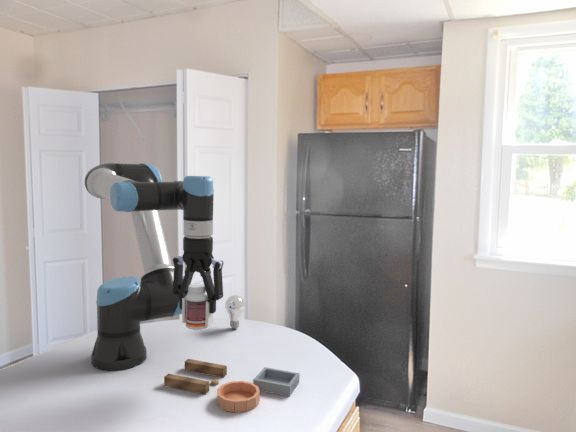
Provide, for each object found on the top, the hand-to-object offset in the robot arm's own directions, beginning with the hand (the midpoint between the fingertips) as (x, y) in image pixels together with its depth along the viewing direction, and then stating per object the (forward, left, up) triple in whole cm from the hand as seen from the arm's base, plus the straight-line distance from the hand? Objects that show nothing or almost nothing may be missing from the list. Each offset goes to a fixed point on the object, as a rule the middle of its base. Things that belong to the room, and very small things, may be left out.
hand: (197, 322), depth 123 cm
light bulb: (-7, +39, -16) cm, 43 cm away
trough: (+21, +5, -16) cm, 27 cm away
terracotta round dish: (+15, -6, -16) cm, 22 cm away
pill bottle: (0, 0, -1) cm, 1 cm away
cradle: (0, 0, -16) cm, 16 cm away
